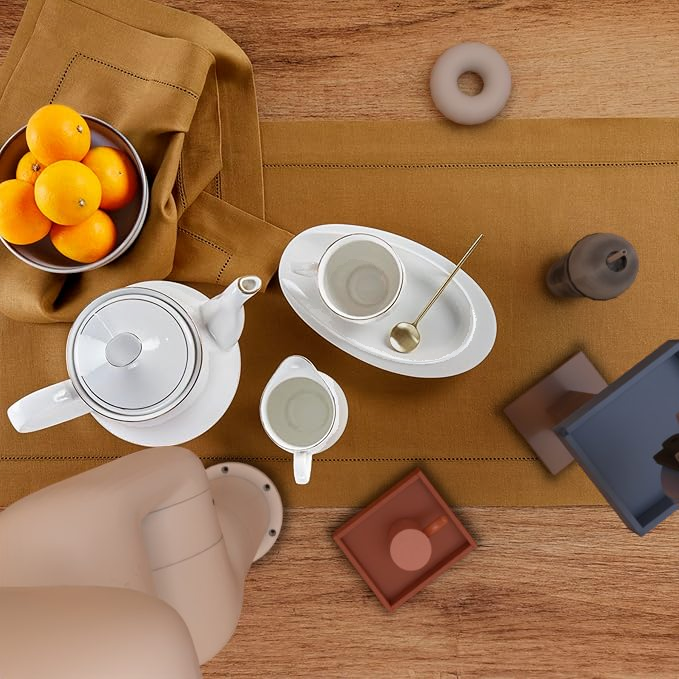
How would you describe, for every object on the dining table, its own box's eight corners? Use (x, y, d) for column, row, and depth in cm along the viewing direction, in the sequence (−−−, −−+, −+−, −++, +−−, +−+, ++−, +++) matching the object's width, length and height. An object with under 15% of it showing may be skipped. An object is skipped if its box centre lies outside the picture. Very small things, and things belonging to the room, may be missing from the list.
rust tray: (388, 605, 79) (389, 614, 77) (332, 532, 80) (332, 538, 77) (474, 540, 80) (478, 546, 77) (418, 467, 80) (420, 470, 77)
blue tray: (628, 529, 58) (641, 537, 55) (551, 429, 58) (560, 432, 55) (746, 439, 58) (764, 443, 55) (668, 339, 58) (682, 338, 56)
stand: (551, 474, 80) (629, 520, 58) (501, 409, 80) (560, 430, 58) (628, 415, 80) (736, 438, 58) (578, 350, 80) (667, 348, 58)
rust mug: (403, 565, 79) (406, 579, 74) (379, 533, 79) (381, 545, 74) (454, 525, 79) (461, 537, 74) (430, 494, 79) (436, 503, 74)
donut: (493, 40, 81) (417, 63, 81) (500, 25, 78) (420, 50, 78) (517, 115, 81) (441, 139, 81) (526, 104, 77) (446, 129, 77)
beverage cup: (587, 314, 80) (668, 300, 60) (529, 302, 80) (590, 285, 60) (599, 256, 80) (683, 223, 60) (541, 244, 80) (605, 208, 60)
